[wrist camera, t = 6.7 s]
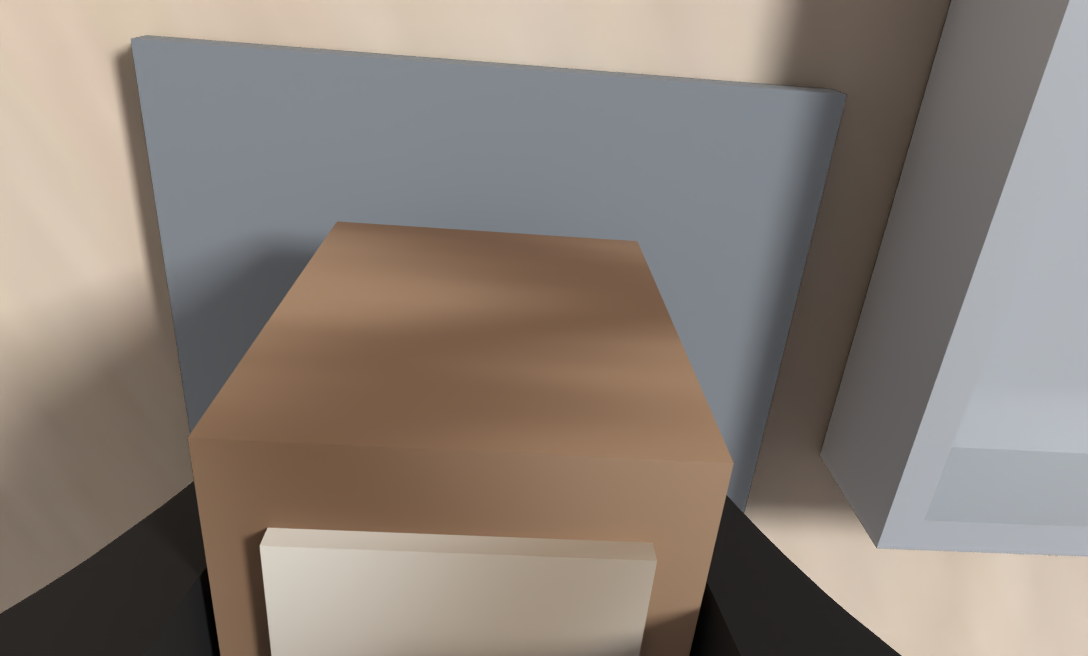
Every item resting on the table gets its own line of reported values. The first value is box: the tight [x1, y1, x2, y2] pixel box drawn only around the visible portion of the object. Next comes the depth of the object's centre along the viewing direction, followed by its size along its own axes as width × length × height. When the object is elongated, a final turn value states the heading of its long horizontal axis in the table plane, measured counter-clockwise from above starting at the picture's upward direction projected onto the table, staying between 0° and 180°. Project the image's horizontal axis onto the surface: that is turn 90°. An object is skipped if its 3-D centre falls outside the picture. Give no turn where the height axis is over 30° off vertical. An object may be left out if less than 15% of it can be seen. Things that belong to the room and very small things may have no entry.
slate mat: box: [131, 35, 847, 513], centre depth 13 cm, size 10×10×1 cm
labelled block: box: [188, 221, 734, 656], centre depth 9 cm, size 4×6×5 cm, turn 175°
